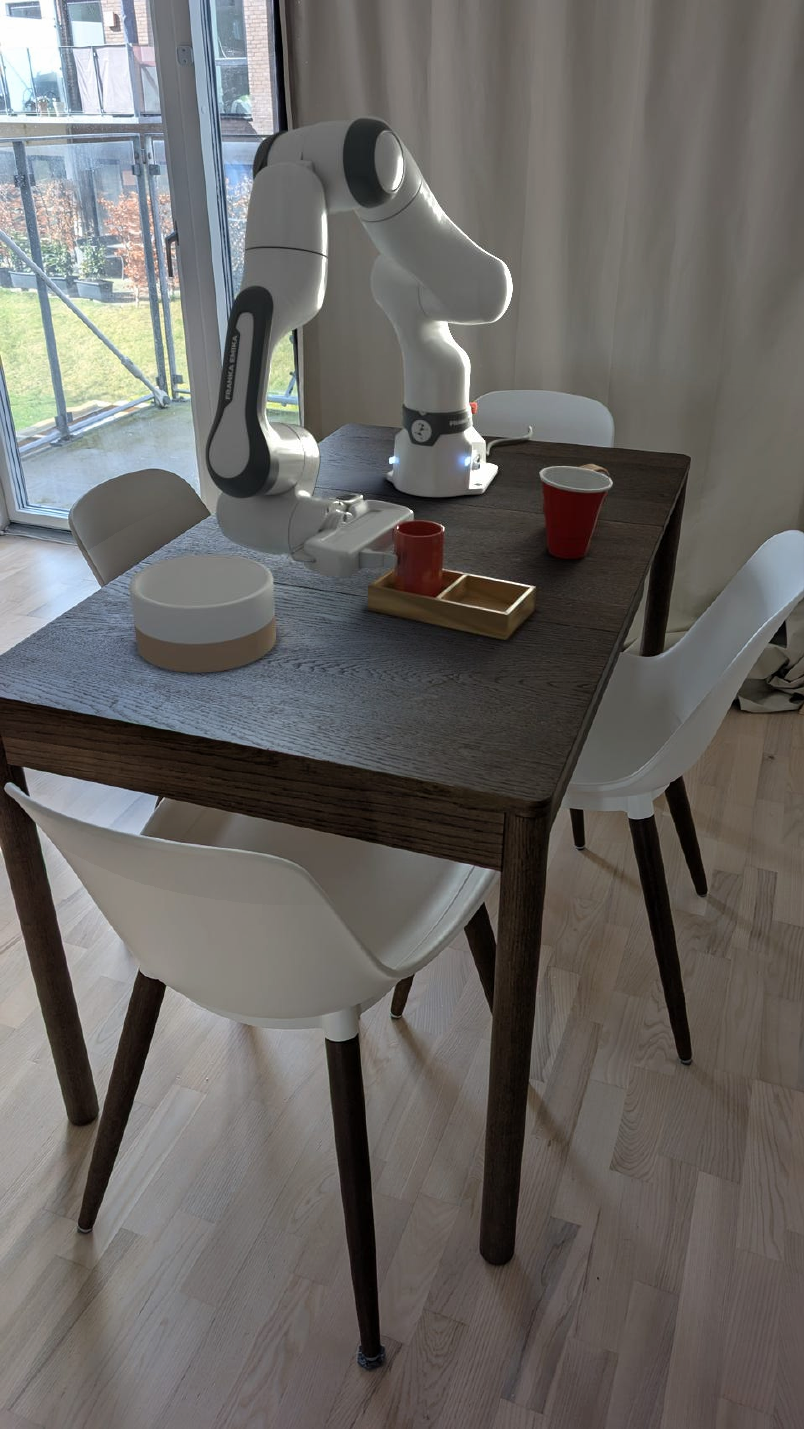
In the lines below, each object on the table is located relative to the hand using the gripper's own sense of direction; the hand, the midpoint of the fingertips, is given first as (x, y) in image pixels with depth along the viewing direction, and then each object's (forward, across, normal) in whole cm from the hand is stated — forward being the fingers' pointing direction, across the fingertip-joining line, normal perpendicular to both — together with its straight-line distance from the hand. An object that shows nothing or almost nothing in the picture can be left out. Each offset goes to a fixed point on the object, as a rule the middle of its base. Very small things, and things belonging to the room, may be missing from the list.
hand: (414, 549), depth 137 cm
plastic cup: (+13, +28, +8) cm, 32 cm away
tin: (+9, +43, +8) cm, 44 cm away
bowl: (-17, -23, +8) cm, 30 cm away
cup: (+1, 0, +7) cm, 7 cm away
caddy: (+6, 0, +8) cm, 9 cm away
